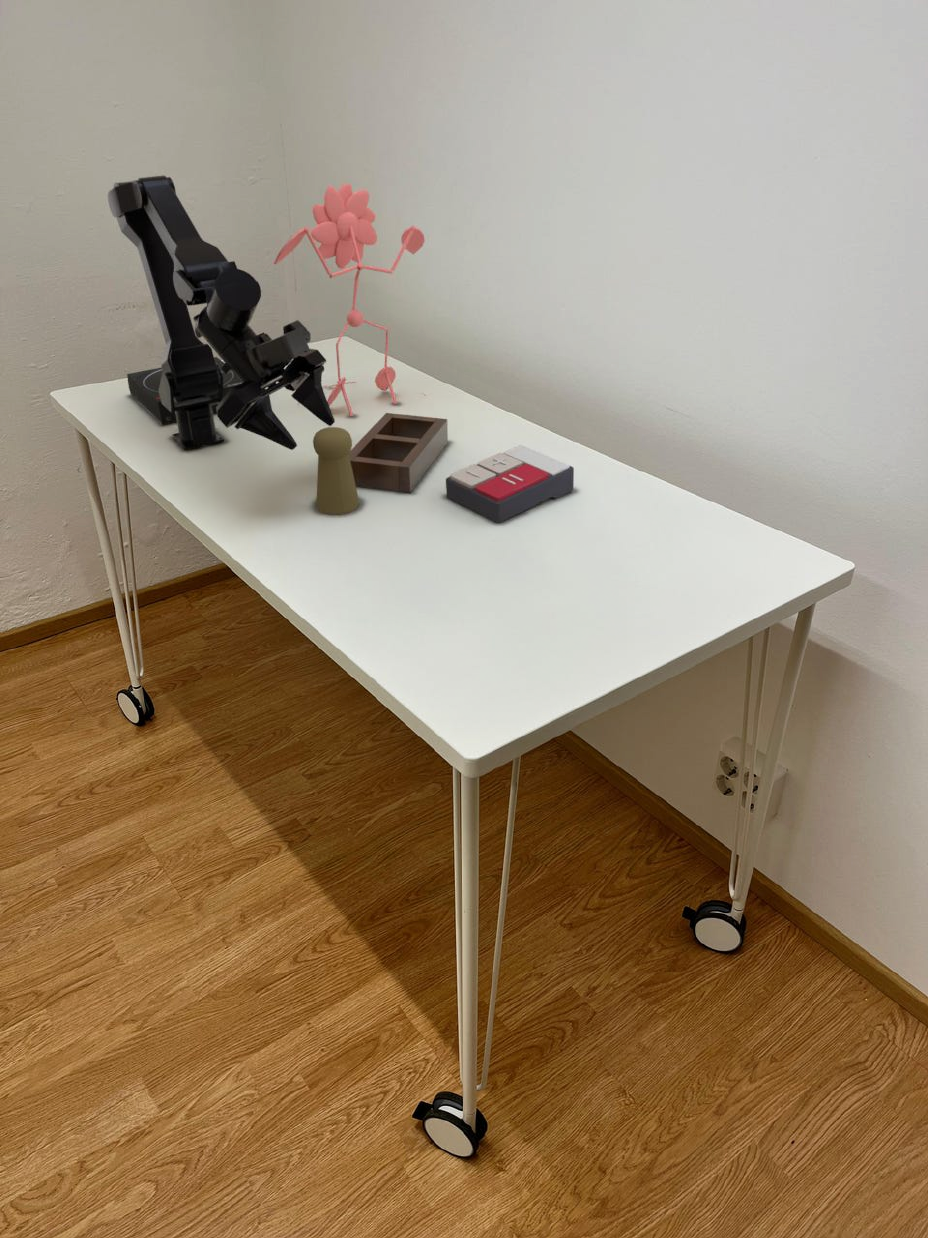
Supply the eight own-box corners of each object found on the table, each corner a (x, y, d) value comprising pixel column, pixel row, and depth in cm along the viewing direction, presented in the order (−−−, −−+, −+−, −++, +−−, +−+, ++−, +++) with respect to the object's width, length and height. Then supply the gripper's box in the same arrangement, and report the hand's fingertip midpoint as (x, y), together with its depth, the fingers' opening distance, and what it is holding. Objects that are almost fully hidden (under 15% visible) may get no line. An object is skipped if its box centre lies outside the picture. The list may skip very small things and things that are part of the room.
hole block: (343, 485, 143) (341, 459, 140) (387, 436, 158) (386, 412, 155) (410, 493, 140) (409, 467, 138) (447, 442, 155) (447, 418, 153)
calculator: (443, 473, 137) (520, 439, 145) (445, 500, 139) (521, 466, 147) (497, 499, 130) (575, 462, 138) (498, 527, 132) (574, 489, 140)
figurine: (438, 394, 173) (434, 180, 154) (312, 430, 160) (290, 200, 141) (388, 371, 183) (378, 168, 164) (266, 403, 170) (240, 186, 151)
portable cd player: (218, 377, 181) (215, 355, 179) (255, 404, 169) (252, 382, 167) (130, 394, 174) (125, 372, 172) (162, 425, 162) (157, 402, 160)
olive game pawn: (316, 495, 140) (309, 422, 134) (359, 494, 140) (354, 421, 134) (315, 515, 134) (307, 440, 128) (359, 513, 135) (353, 438, 129)
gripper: (221, 325, 119) (306, 426, 121) (308, 288, 133) (383, 379, 135) (181, 379, 126) (261, 473, 128) (267, 339, 140) (338, 424, 142)
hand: (314, 435), depth 133 cm, fingers open, 9 cm apart
